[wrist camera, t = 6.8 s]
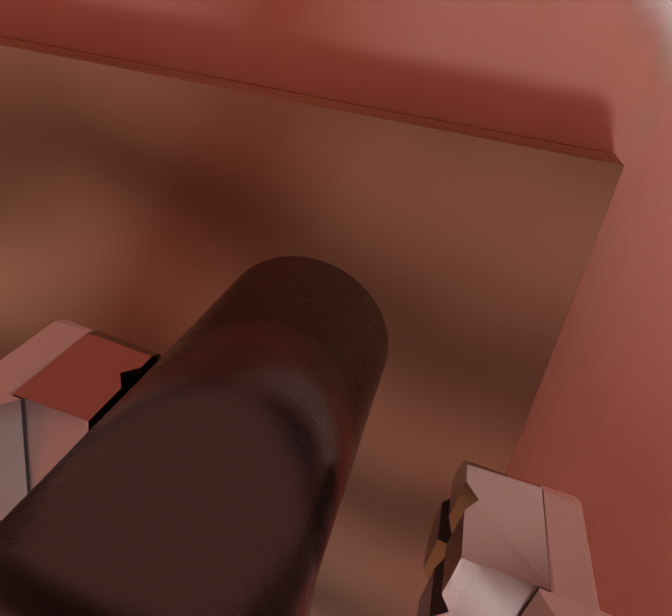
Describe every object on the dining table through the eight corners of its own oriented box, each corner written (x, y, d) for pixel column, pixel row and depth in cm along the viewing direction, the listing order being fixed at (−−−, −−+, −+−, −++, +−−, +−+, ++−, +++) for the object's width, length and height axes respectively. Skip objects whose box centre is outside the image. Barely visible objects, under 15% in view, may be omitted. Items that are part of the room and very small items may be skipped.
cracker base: (421, 672, 24) (393, 914, 18) (6, 532, 27) (-149, 696, 21) (614, 153, 14) (717, 281, 7) (-96, 18, 17) (-474, 23, 10)
